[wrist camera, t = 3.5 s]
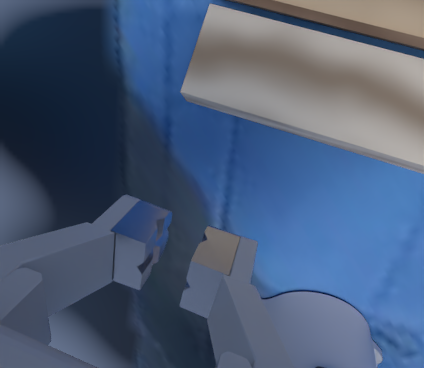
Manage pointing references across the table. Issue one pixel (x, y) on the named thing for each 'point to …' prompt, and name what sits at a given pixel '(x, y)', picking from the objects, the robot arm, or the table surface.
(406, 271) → the table surface
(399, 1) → the laid board
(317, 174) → the table surface
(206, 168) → the table surface
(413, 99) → the plank
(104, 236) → the robot arm
